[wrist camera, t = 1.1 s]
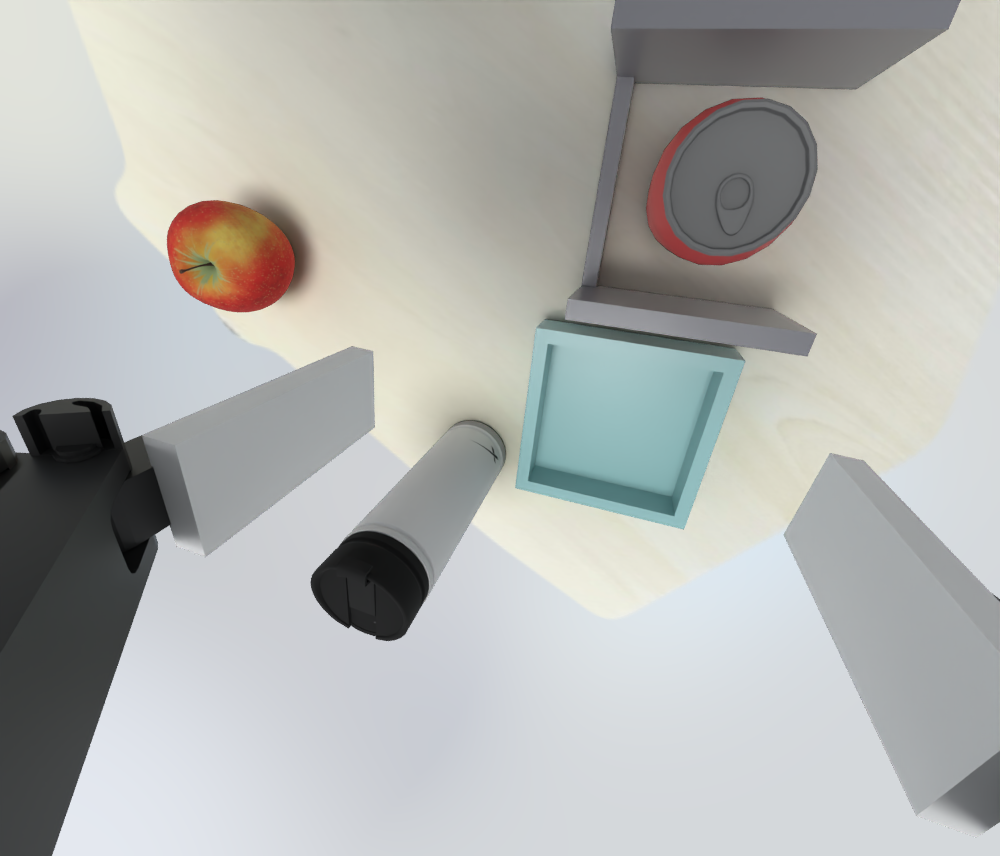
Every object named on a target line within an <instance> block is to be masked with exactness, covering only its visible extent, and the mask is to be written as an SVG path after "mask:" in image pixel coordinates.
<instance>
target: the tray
mask: <svg viewBox="0 0 1000 856" xmlns="http://www.w3.org/2000/svg"><path fill="white" fill-rule="evenodd" d="M744 363H745V360H744V359H743V358H742V356H741V355H740V354H739V353H738V352H737V350H736V349H735V348H729V347H722V346H716V345H709V344H703V343H696V342H690V341H683V340H677V339H670V338H664V337H657V336H651V335H644V334H638V333H631V332H625V331H618V330H612V329H605V328H599V327H592V326H586V325H579V324H573V323H566V322H560V321H553V320H547V319H545V320H544V321H543V322H542V323H541V324H540V325H539V326H537V327H536V333H535V340H534V348H533V356H532V363H531V371H530V379H529V386H528V394H527V402H526V409H525V417H524V425H523V433H522V440H521V448H520V456H519V463H518V471H517V479H516V486H515V488H517V489H522V490H526V491H530V492H534V493H538V494H542V495H546V496H550V497H554V498H558V499H562V500H566V501H570V502H574V503H578V504H582V505H587V506H591V507H595V508H599V509H603V510H607V511H611V512H615V513H619V514H623V515H627V516H631V517H635V518H639V519H643V520H647V521H651V522H656V523H660V524H664V525H668V526H672V527H676V528H680V529H684V528H685V525H686V522H687V520H688V517H689V514H690V511H691V509H692V506H693V503H694V500H695V498H696V495H697V492H698V489H699V487H700V484H701V481H702V478H703V476H704V473H705V470H706V467H707V465H708V462H709V459H710V456H711V454H712V451H713V448H714V446H715V443H716V440H717V437H718V435H719V432H720V429H721V426H722V424H723V421H724V418H725V415H726V413H727V410H728V407H729V404H730V402H731V399H732V396H733V393H734V391H735V388H736V385H737V383H738V380H739V377H740V374H741V372H742V369H743V366H744Z"/></svg>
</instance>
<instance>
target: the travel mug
mask: <svg viewBox="0 0 1000 856" xmlns="http://www.w3.org/2000/svg"><path fill="white" fill-rule="evenodd" d="M505 455H506V453H505V447H504V445H503V442H502V440H501V439H500V437H499V436H498V435H497V433H496V432H495V431H494V430H492V429H491V428H490V427H488V426H487V425H485V424H483V423H480V422H476V421H462V422H459V423H457V424H455V425H453V426H452V427H451V428H450V429H449V430H448V431H447V432H446V433H445V434H444V435H443V436H442V437H441V438H440V439H439V440H438V441H437V442H436V443H435V445H434V446H433V447H432V448H431V449H430V450H429V451H428V452H427V453H426V454H425V455H424V456H423V457H422V458H421V459H420V460H419V461H418V462H417V463H416V464H415V465H414V466H413V468H412V469H411V470H410V471H409V472H408V473H407V474H406V475H405V476H404V477H403V478H402V479H401V480H400V481H399V482H398V483H397V484H396V485H395V486H394V487H393V488H392V490H391V491H390V492H389V493H388V494H387V495H386V496H385V497H384V498H383V499H382V500H381V501H380V502H379V503H378V504H377V505H376V506H375V507H374V508H373V510H371V512H370V513H369V514H368V515H367V516H366V517H365V518H364V519H363V520H362V521H361V522H360V523H359V524H358V525H357V526H356V527H355V528H354V529H353V531H352V532H351V533H350V534H349V535H348V536H347V537H346V538H345V539H344V540H343V542H342V543H341V544H340V546H339V547H338V548H337V549H336V550H335V551H334V552H333V553H332V554H331V555H330V556H329V557H328V558H327V559H326V560H325V561H324V562H323V563H322V564H321V565H320V566H319V567H318V568H317V569H316V571H315V572H314V573H313V575H312V578H311V588H312V591H313V594H314V596H315V598H316V600H317V601H318V603H319V604H320V605H321V607H322V608H323V609H324V610H325V611H326V612H327V613H328V614H329V615H330V616H331V617H332V618H333V619H335V620H336V621H337V622H339V623H341V624H342V625H344V626H345V627H347V628H349V627H350V626H353V627H354V628H355V629H357V630H359V631H362V632H364V633H367V634H370V635H373V636H376V639H378V640H384V641H392V640H396V639H399V638H401V637H402V636H403V635H405V634H406V632H407V630H408V628H409V627H410V625H411V623H412V621H413V620H414V618H415V616H416V615H417V613H418V611H419V609H420V607H421V606H422V604H423V603H424V602H425V601H426V599H427V597H428V596H429V594H430V592H431V590H432V589H433V587H434V585H435V583H436V581H437V580H438V578H439V576H440V575H441V573H442V571H443V569H444V568H445V566H446V564H447V563H448V561H449V559H450V557H451V555H452V554H453V552H454V550H455V548H456V547H457V545H458V543H459V542H460V540H461V538H462V536H463V535H464V533H465V531H466V530H467V528H468V526H469V524H470V523H471V521H472V519H473V517H474V516H475V514H476V512H477V510H478V509H479V507H480V505H481V503H482V502H483V500H484V498H485V496H486V495H487V493H488V491H489V490H490V488H491V486H492V484H493V483H494V481H495V479H496V477H497V476H498V474H499V472H500V470H501V469H502V467H503V465H504V462H505Z"/></svg>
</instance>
